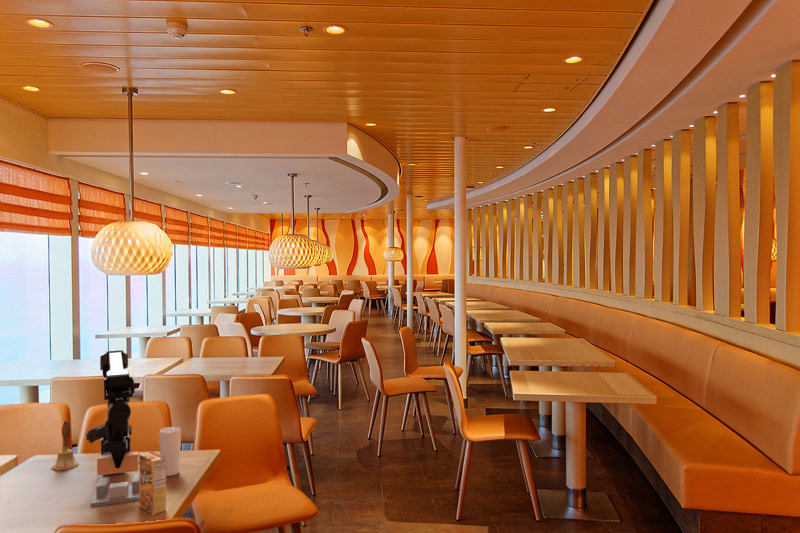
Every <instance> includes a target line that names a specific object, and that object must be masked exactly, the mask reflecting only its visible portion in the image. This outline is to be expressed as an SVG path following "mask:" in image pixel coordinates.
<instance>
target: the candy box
mask: <svg viewBox="0 0 800 533" xmlns="http://www.w3.org/2000/svg"><path fill="white" fill-rule="evenodd" d="M138 472H139V473H138V474H139V500H138V504H139V505H138V507H140V508H141V509H143V510H145V511H147V512H148V513H150V514H151V515H152V516H154V515H157V514H159V513H162V512H165V511H167V476H166V458H165V457H163V456H161V454H158V453H155V452H154V451H148V452H144V453H140V454H139V468H138Z"/></svg>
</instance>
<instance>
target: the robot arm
mask: <svg viewBox="0 0 800 533" xmlns="http://www.w3.org/2000/svg"><path fill="white" fill-rule="evenodd" d="M99 358H100V360H99V368H100V371H102V377H103V399H104V401H106V402H107V403H106V404H107V419H106V421H105V422H104V423H102V424H100V425H97V426H95V427H94V426H93V427H92V428H90V429H88V430H86V432H85V436H86V438H85V439H86V440H87V442H89V444H93V443H94V442H95V441H98V440H100V455H110V454H112V457H113V461H114V464H115V467H116V468H120V466H121V463H122V461H123V458H124V455H125V453H129V452H131V437H129V436H132V435H133V426H132V425H130V424H129V422H130V421H129V420H130V416H131V414H132V413H131V412H132V410H131V407H130V404H129V398H133V396H134V394H135V393H136V392H135V380H134V378H133V376H132V375H130V370H128V367H129V355H128V353H126V352H124V349H121V348H119V349H109V350H106V352H105V353H104V354H102V355H100V356H99ZM119 474H122V473H116V474H115V475H119ZM110 475H111V476H112V475H114V474H107V475H106V476H110Z"/></svg>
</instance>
